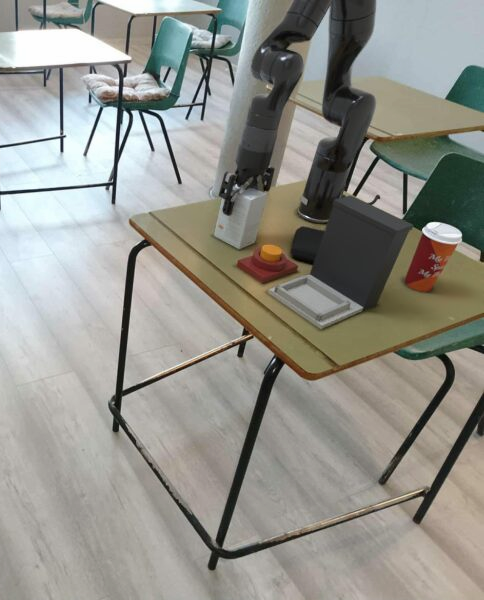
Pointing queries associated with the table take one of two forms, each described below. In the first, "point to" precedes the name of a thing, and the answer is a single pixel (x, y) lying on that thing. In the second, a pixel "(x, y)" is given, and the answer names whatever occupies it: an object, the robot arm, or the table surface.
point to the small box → (241, 218)
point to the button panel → (266, 267)
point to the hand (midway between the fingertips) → (239, 211)
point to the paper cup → (432, 255)
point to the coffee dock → (347, 264)
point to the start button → (271, 253)
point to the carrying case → (306, 243)
